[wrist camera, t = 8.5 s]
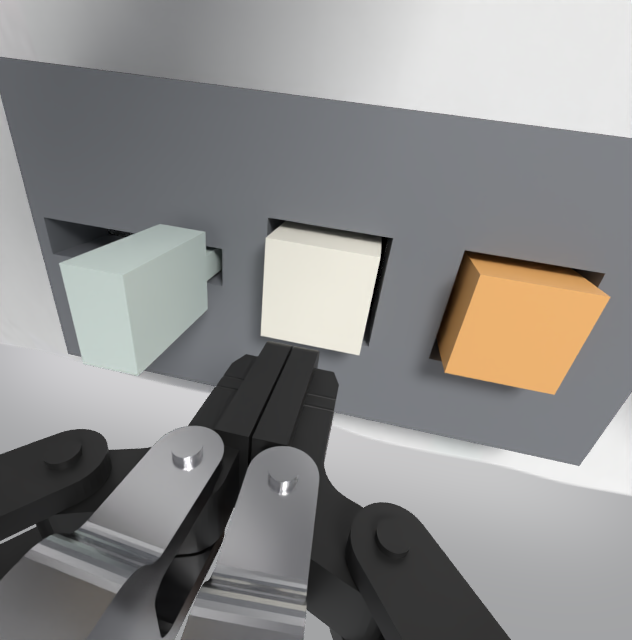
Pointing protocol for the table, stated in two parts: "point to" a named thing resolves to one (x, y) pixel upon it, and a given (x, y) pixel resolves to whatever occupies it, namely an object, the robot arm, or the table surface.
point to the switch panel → (345, 214)
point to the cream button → (318, 285)
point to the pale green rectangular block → (138, 295)
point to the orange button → (516, 321)
